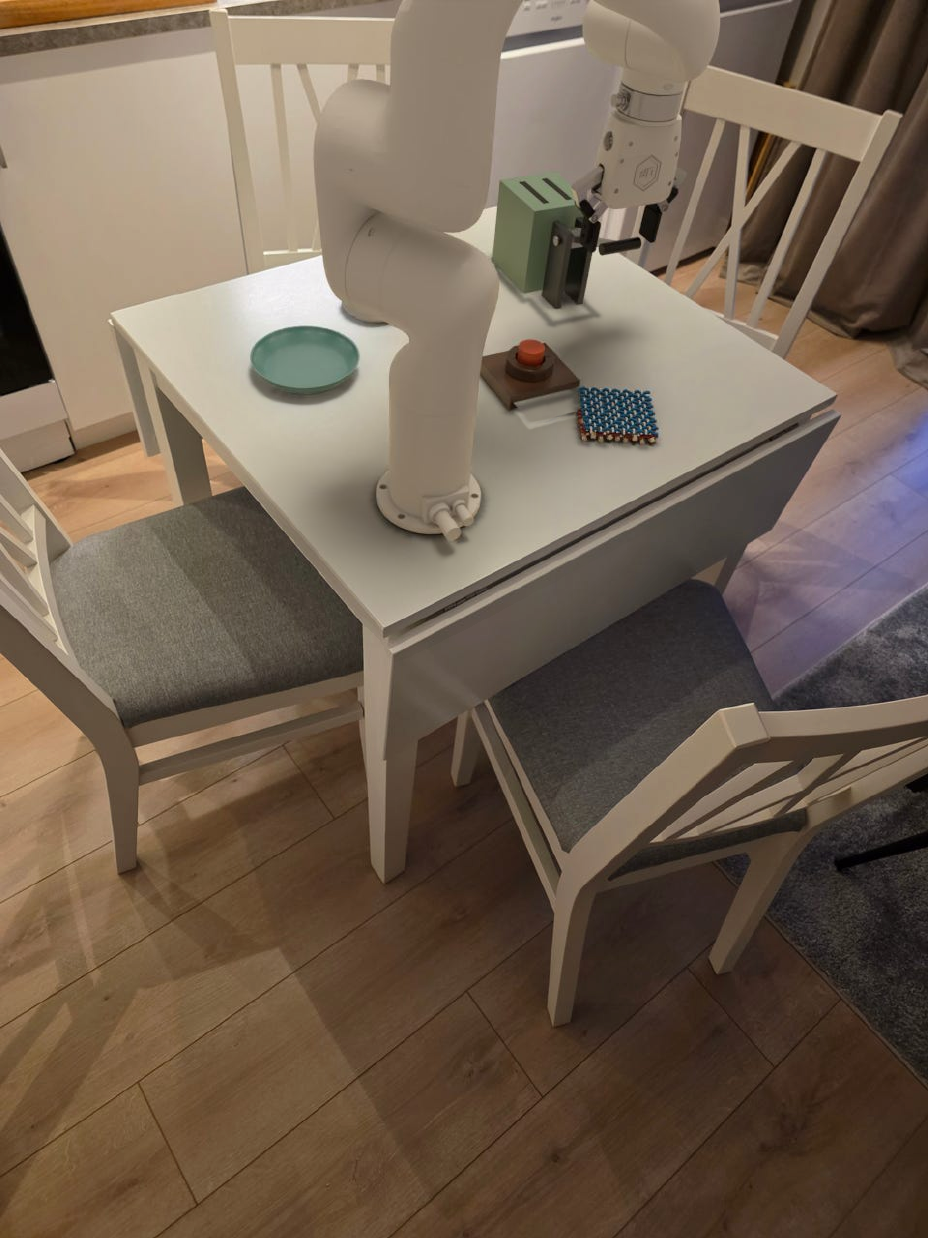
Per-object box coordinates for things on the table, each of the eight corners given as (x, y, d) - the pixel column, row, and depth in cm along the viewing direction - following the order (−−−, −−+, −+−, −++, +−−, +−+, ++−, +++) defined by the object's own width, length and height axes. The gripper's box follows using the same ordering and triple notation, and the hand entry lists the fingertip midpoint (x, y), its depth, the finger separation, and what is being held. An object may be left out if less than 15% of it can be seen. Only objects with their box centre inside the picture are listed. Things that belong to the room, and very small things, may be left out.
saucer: (230, 366, 113) (227, 349, 111) (315, 330, 120) (314, 313, 118) (297, 417, 107) (295, 400, 105) (381, 375, 114) (381, 359, 112)
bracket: (595, 315, 129) (612, 233, 119) (551, 324, 126) (565, 242, 116) (569, 289, 133) (583, 209, 123) (526, 298, 130) (537, 217, 121)
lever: (641, 252, 113) (641, 233, 111) (604, 259, 111) (604, 240, 110) (584, 242, 124) (584, 225, 123) (550, 248, 122) (550, 230, 121)
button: (547, 363, 113) (550, 350, 111) (525, 369, 112) (526, 355, 110) (535, 350, 115) (537, 336, 113) (512, 355, 113) (514, 341, 112)
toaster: (576, 290, 133) (592, 201, 122) (522, 300, 130) (534, 210, 119) (542, 258, 139) (555, 171, 128) (490, 267, 136) (499, 178, 125)
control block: (577, 393, 115) (583, 368, 112) (509, 410, 111) (512, 385, 108) (543, 355, 120) (547, 330, 117) (476, 370, 117) (478, 345, 114)
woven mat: (572, 394, 115) (574, 382, 113) (646, 399, 115) (650, 387, 114) (578, 442, 108) (580, 429, 106) (657, 447, 109) (661, 434, 107)
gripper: (604, 119, 94) (577, 265, 107) (724, 107, 99) (684, 246, 112) (571, 96, 98) (549, 239, 111) (687, 85, 104) (653, 222, 117)
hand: (617, 242), depth 112 cm, fingers open, 9 cm apart
